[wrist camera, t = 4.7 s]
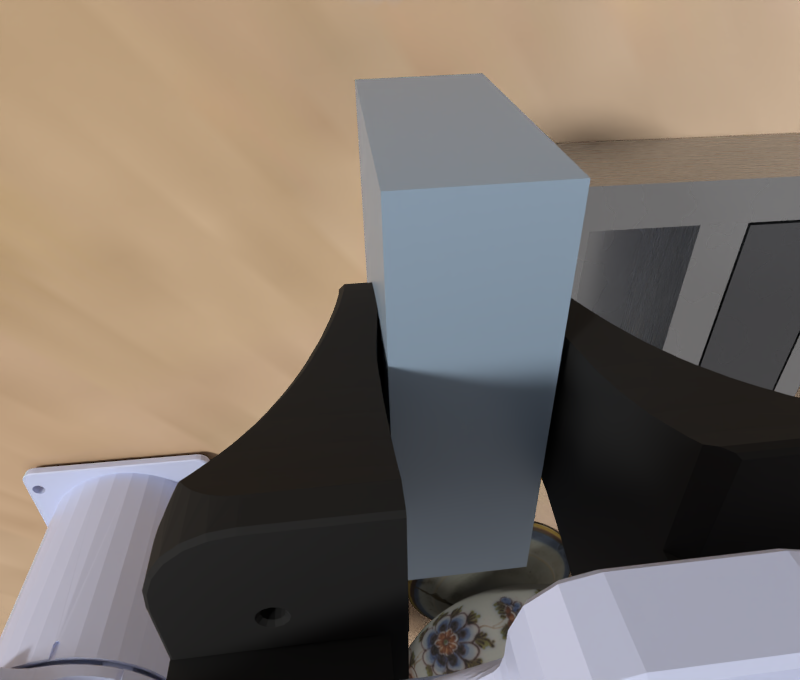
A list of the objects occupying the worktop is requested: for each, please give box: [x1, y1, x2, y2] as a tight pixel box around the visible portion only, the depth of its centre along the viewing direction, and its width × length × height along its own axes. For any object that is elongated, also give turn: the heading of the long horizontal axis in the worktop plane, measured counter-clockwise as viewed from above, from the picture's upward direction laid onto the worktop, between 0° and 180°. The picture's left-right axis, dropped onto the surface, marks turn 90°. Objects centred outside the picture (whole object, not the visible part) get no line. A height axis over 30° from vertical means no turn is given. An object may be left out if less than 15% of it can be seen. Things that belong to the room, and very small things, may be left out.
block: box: [355, 73, 590, 580], centre depth 12 cm, size 8×3×6 cm, turn 1°
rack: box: [541, 133, 800, 479], centre depth 23 cm, size 13×16×4 cm
